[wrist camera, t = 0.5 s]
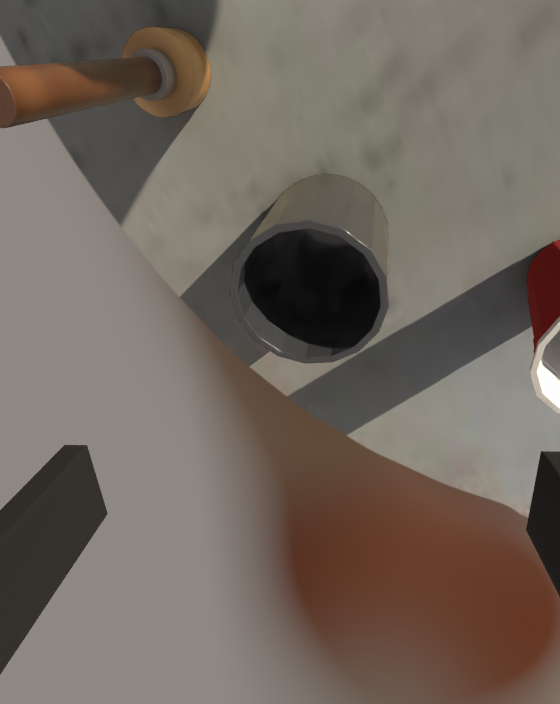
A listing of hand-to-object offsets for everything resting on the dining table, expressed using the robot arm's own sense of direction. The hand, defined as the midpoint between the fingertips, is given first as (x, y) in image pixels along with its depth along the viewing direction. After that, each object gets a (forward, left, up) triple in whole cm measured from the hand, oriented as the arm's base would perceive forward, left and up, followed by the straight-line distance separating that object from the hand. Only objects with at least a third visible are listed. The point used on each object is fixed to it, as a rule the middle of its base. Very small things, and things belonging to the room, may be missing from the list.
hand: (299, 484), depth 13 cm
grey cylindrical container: (+3, +1, -27) cm, 27 cm away
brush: (+6, -15, -27) cm, 32 cm away
